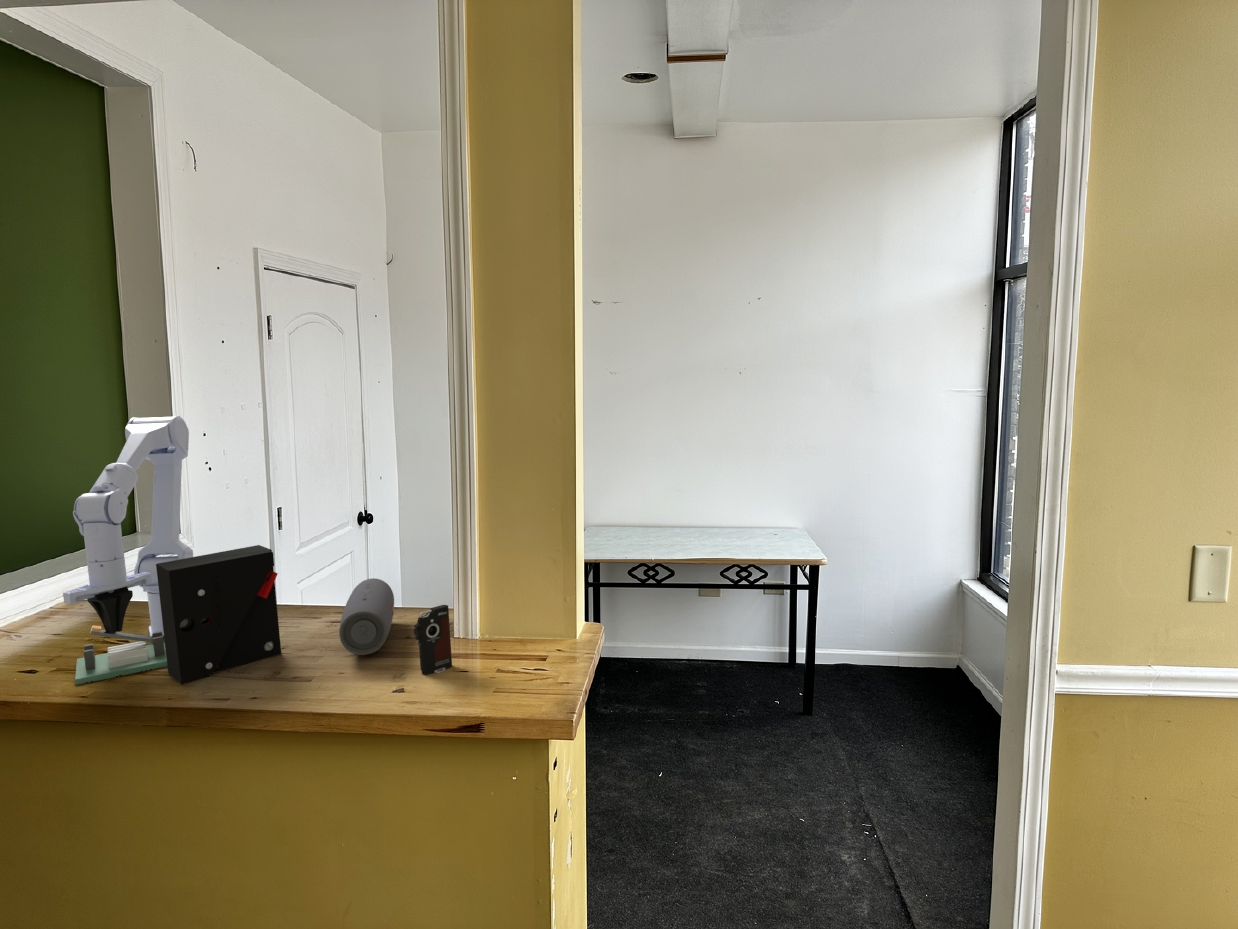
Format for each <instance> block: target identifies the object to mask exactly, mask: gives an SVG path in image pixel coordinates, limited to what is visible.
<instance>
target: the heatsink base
mask: <svg viewBox="0 0 1238 929" xmlns="http://www.w3.org/2000/svg"><path fill="white" fill-rule="evenodd" d="M152 637H155V638H153V643H152V644H148V645H147V642H143V641H135V642H130V643H124V644H120V645H115V646H109V647H107V653H101V654H96V655H95V648H94V646H95V645H94V643H90V644H85V645H83V649H84V650H83V657H80V658H79V657H78V658H77V659H76V667H75V678H74V683H75V685H76V686H79V685H83V684H87V683H86V682H88V683H92V682H91V681H93V682H97V681H103V680H107V679H111V678H116V676H118V677H120V676H119V675H122V676H127V675H133V674H136V673H142V672H145V671H146V670H147V671H151V670H150V669H152V670H157V669H162V668H168V666H167V657H166V649H165V641H164V636H162V631H161V632H155V633H152ZM156 668H157V669H156ZM141 671H142V672H141Z"/></svg>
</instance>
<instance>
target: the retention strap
mask: <svg viewBox="0 0 1238 929" xmlns="http://www.w3.org/2000/svg"><path fill="white" fill-rule="evenodd" d="M90 628H91V629H90V636H91V635H92V636H98V637H107V638H115V639H120V640H121V639H123V640H128V641H129V640H130V641H135V642H141V641H143V642H146V643H152V644H153V638H155V637H152V636H150V635H144V634H135V633H129V632H122V631H120V632H116V633H113V634H111V633H108V632H106V631H105V629H102V625H95V624H93V625H92V626H91V627H90Z"/></svg>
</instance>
